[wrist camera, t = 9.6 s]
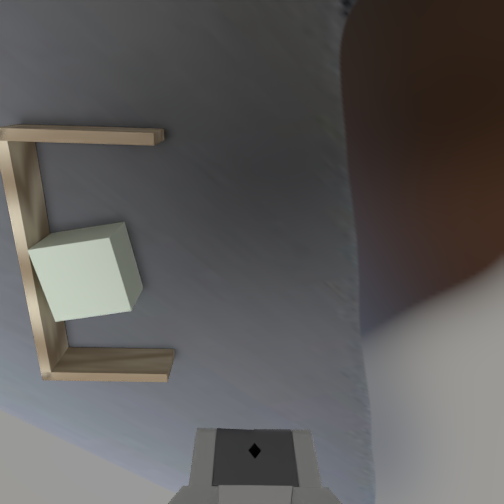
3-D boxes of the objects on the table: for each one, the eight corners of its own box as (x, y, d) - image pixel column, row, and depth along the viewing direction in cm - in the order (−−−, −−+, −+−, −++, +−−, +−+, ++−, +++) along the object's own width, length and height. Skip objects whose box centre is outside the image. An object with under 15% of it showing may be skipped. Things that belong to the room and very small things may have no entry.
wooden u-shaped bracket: (21, 124, 29) (-8, 127, 25) (163, 128, 29) (153, 132, 26) (61, 354, 36) (42, 380, 33) (174, 356, 36) (167, 382, 33)
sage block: (52, 232, 32) (27, 250, 28) (125, 220, 32) (109, 237, 28) (76, 297, 34) (55, 321, 30) (143, 287, 34) (131, 310, 30)
